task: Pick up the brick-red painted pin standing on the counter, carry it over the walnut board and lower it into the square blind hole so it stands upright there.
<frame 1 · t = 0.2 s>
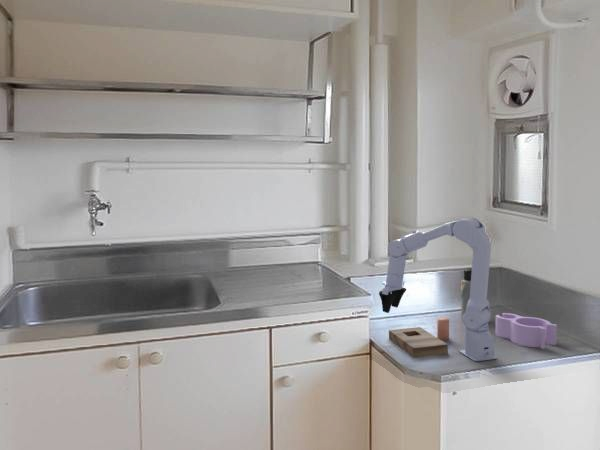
hand: (390, 309, 193), 10 cm above the counter, tool pointing down, fingers open, 7 cm apart
lotion bottle: (468, 318, 217), on the counter
clip: (523, 340, 190), on the counter
board: (417, 345, 186), on the counter
pin: (443, 338, 192), on the counter
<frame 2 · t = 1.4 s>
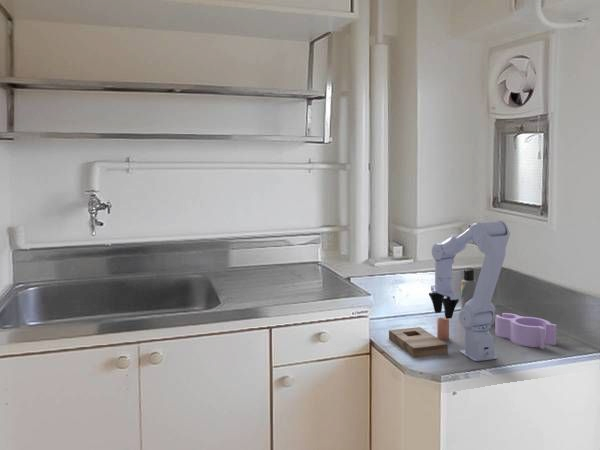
hand: (443, 315, 192), 8 cm above the counter, tool pointing down, fingers open, 7 cm apart
nothing on the counter moved.
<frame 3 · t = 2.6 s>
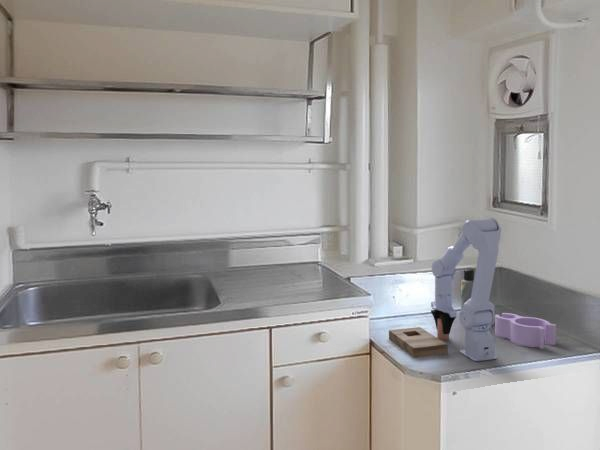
hand: (443, 331, 192), 2 cm above the counter, tool pointing down, fingers closed on pin, 4 cm apart
pin: (443, 338, 192), on the counter, touching gripper
everything else where it was.
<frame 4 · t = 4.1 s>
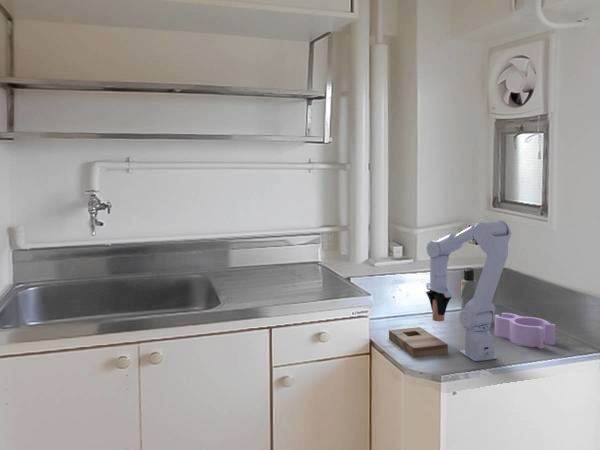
hand: (438, 312, 191), 9 cm above the counter, tool pointing down, fingers closed on pin, 4 cm apart
pin: (438, 319, 191), point 7 cm above the counter, touching gripper
everything else where it was.
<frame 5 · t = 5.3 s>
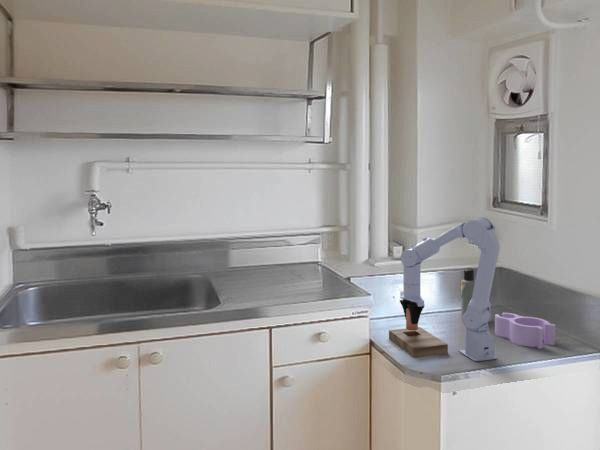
hand: (411, 321, 189), 7 cm above the counter, tool pointing down, fingers closed on pin, 4 cm apart
pin: (411, 328, 189), point 5 cm above the counter, touching gripper
everything else where it was.
when the fingers open (4 cm above the counter, at t = 6.4 s): pin stays where it is, resting on board.
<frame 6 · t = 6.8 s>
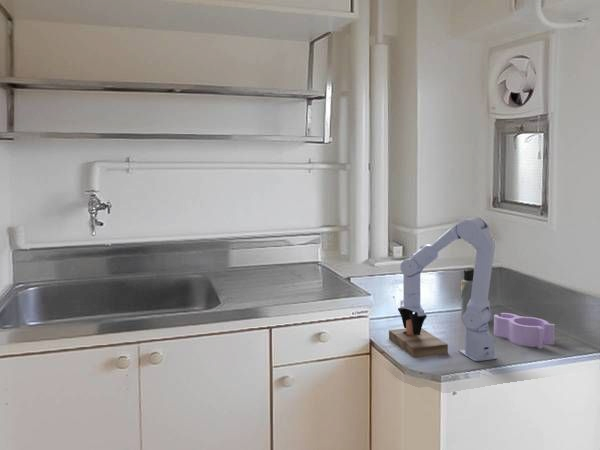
hand: (411, 331, 189), 4 cm above the counter, tool pointing down, fingers open, 7 cm apart
pin: (412, 340, 190), point 1 cm above the counter, touching board
everything else where it was.
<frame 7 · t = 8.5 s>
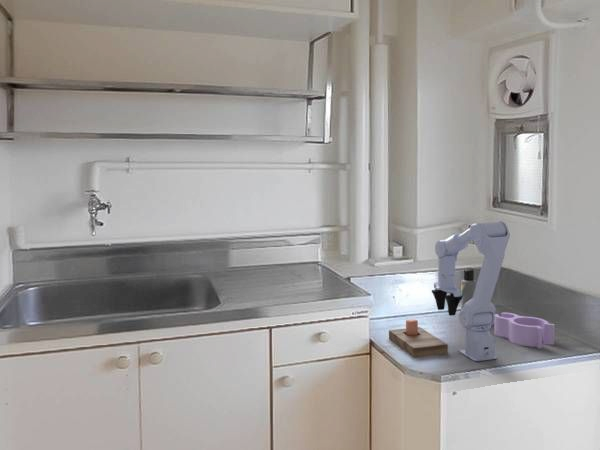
hand: (446, 312, 192), 9 cm above the counter, tool pointing down, fingers open, 7 cm apart
nothing on the counter moved.
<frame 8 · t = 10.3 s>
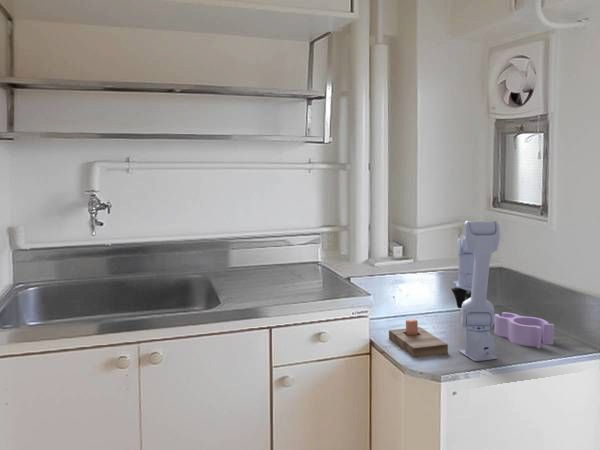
hand: (466, 310, 194), 9 cm above the counter, tool pointing down, fingers open, 7 cm apart
nothing on the counter moved.
at the end: pin 0.1 cm from the target spot on the board, point 0.5 cm above the board's base; pin tilted 1°; the gripper is holding nothing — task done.
